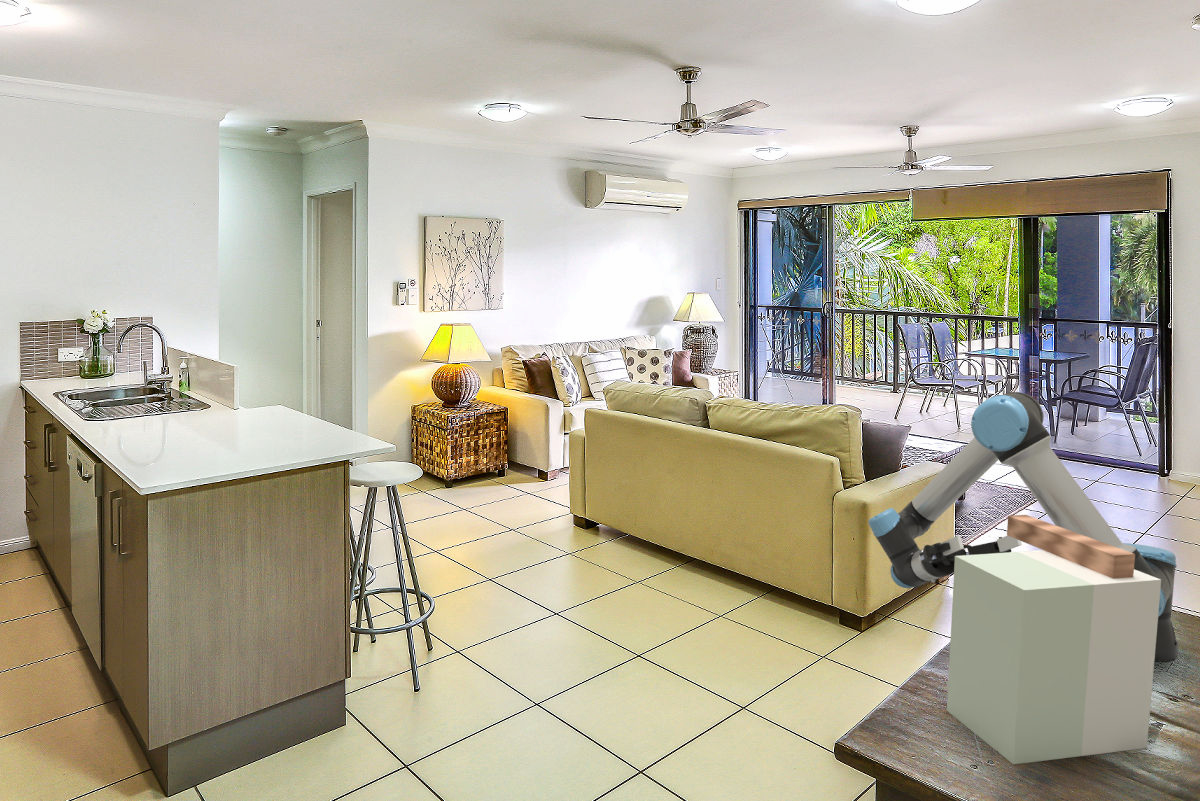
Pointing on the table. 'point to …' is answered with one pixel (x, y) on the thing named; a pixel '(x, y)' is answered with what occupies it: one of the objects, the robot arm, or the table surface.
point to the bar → (1072, 546)
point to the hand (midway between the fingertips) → (989, 540)
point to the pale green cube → (1051, 655)
